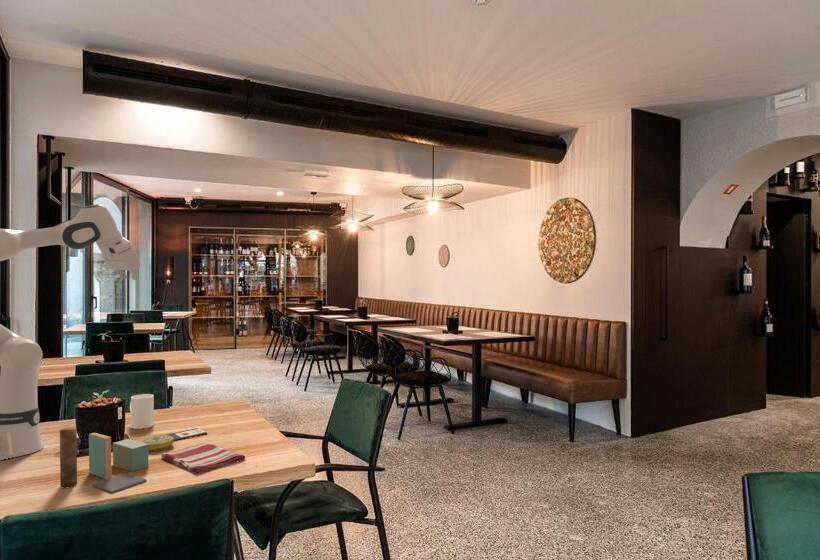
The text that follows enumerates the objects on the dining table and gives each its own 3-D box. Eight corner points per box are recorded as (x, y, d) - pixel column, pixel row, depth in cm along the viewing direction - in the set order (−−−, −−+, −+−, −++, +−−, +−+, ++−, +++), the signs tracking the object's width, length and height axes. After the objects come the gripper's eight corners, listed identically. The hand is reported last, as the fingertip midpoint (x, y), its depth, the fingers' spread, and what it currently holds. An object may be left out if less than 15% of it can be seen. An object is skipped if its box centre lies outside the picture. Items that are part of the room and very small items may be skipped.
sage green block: (132, 471, 162) (132, 448, 162) (113, 465, 168) (112, 442, 168) (148, 466, 166) (148, 444, 166) (128, 460, 172) (128, 438, 172)
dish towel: (196, 476, 159) (196, 467, 159) (159, 459, 174) (159, 451, 174) (245, 461, 172) (245, 453, 172) (207, 446, 187) (207, 439, 187)
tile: (104, 479, 156) (104, 438, 156) (88, 473, 161) (88, 434, 161) (111, 477, 157) (110, 437, 157) (95, 471, 162) (94, 432, 162)
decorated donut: (172, 442, 192) (172, 431, 192) (174, 450, 182) (174, 439, 182) (140, 446, 187) (140, 435, 187) (140, 455, 178) (140, 443, 178)
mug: (121, 426, 212) (121, 396, 212) (142, 421, 220) (142, 392, 220) (138, 430, 206) (137, 399, 206) (158, 425, 213) (158, 395, 213)
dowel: (57, 488, 149) (57, 431, 149) (64, 483, 153) (63, 427, 153) (73, 487, 150) (72, 430, 150) (79, 482, 154) (78, 426, 154)
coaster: (111, 493, 146) (111, 491, 146) (92, 485, 151) (92, 483, 151) (146, 481, 154) (146, 479, 154) (127, 474, 160) (127, 472, 160)
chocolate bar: (148, 438, 194) (197, 428, 207) (148, 440, 194) (197, 430, 207) (157, 443, 188) (207, 432, 200) (157, 446, 188) (207, 435, 200)
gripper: (92, 249, 200) (110, 282, 205) (117, 249, 187) (135, 284, 193) (108, 242, 204) (125, 274, 210) (133, 242, 192) (150, 275, 197)
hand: (130, 279), depth 201 cm, fingers open, 8 cm apart
